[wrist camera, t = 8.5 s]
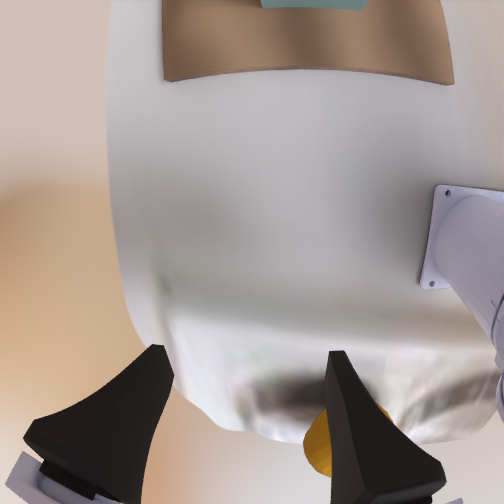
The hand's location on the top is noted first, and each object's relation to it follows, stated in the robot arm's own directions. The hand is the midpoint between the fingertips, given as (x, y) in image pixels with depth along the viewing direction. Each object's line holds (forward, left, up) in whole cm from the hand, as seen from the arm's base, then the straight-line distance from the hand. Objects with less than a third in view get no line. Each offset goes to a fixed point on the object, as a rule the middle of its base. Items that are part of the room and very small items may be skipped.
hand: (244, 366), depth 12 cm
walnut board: (-4, -20, -9) cm, 22 cm away
